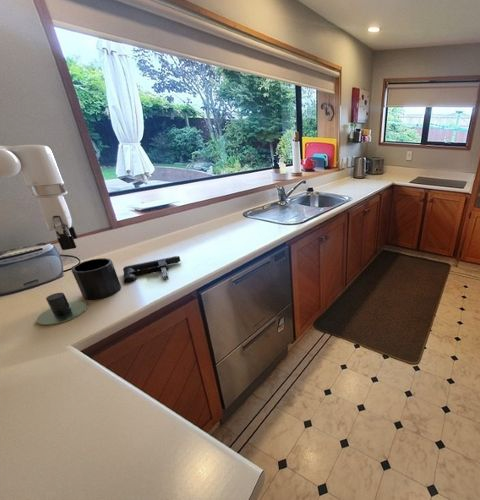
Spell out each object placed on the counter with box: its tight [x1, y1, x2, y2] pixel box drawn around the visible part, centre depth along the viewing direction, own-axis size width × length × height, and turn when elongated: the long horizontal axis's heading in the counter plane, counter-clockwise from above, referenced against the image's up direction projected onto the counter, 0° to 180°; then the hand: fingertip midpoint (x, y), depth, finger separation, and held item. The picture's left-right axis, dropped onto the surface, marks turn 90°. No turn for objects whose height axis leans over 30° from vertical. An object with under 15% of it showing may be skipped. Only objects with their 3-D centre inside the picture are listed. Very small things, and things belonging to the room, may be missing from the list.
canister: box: [70, 257, 122, 301], centre depth 98 cm, size 10×10×12 cm
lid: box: [36, 292, 89, 327], centre depth 87 cm, size 12×12×7 cm
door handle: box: [122, 255, 181, 284], centre depth 114 cm, size 3×20×16 cm
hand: (70, 243), depth 89 cm, fingers open, 9 cm apart
